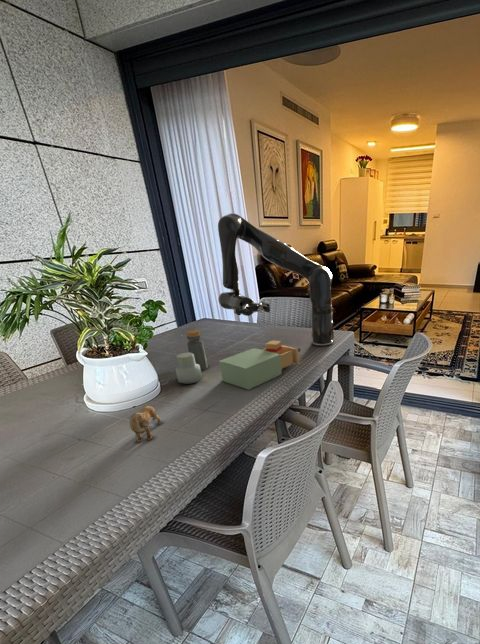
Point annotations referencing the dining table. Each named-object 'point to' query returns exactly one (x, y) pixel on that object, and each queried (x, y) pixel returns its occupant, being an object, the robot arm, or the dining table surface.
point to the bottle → (197, 348)
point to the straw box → (274, 347)
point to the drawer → (289, 356)
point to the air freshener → (187, 368)
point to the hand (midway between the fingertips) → (258, 311)
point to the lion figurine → (143, 422)
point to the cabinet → (250, 368)
